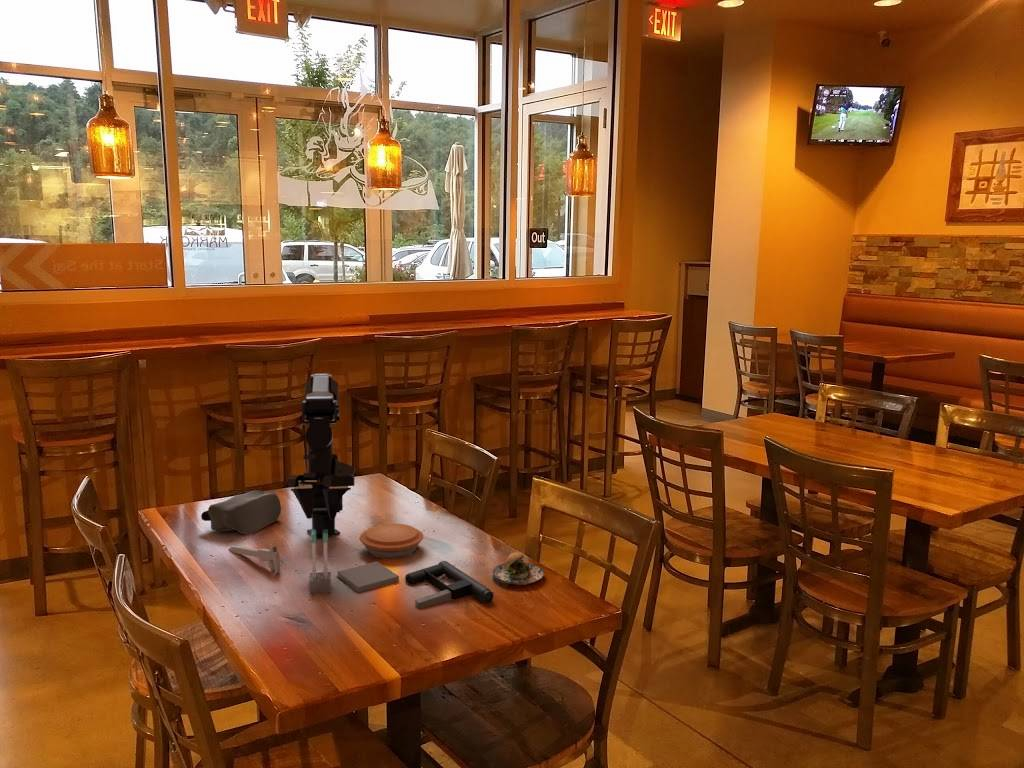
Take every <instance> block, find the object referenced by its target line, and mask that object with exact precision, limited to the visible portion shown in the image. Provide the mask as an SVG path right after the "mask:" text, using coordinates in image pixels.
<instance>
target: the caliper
mask: <svg viewBox="0 0 1024 768" xmlns="http://www.w3.org/2000/svg"><path fill="white" fill-rule="evenodd" d="M228 551H231V553H233V554H239V555H244V556H250V557H255V558H258V559H259V561H260V562H267V564H268V567H269V570H270V572H271V573H275V574H279V573H280V574H281V558H280V553H279V551H278V550H277V546H276V545H275V546H274V545H270V546H269V547H268V548H259V549H257V548H252V547H246V546H240V545H231V546H230V547H229V548H228Z"/></svg>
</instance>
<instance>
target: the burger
mask: <svg viewBox="0 0 1024 768" xmlns="http://www.w3.org/2000/svg"><path fill="white" fill-rule="evenodd" d="M510 547H511V551H512V552H511V553H509V555H508V556H507V558H506V561H505V563H501V564H499V565H497V566H496V567H494V568H493V571H492V574H493V575H492V577H491V579H492V581H493V582H494V583H495V584H497V585H498V586H500V587H502V588H505V589H507V588H508V586H509V585H514V586H515V585H517V586H523V585H525V586H526V585H530V584H533V583H536V582H538V581H539V580H541V579H542V578H543V576H545V572H546V571H545V570H544V569H543V568H541V567H540V566H538V565H536V564H533V563H528V562H525V561H524V560H523V559H524V558H525V555H524V554H523V553H521V552H520V551H519V552H517V551H515V552H514V551H513V546H512V545H510Z"/></svg>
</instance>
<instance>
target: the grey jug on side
mask: <svg viewBox="0 0 1024 768" xmlns="http://www.w3.org/2000/svg"><path fill="white" fill-rule="evenodd" d="M281 512H282V505H281V500H280V499H279V496H278V494H277V493H276V492H275V491H274V490H268V491H262V490H256V489H255V490H251V491H248V492H245V493H243V494H242V493H241V494H236V495H234V496H232V497H231V498H229V499H227V500H225V501H220V502H217V503H214V504H210V505H209V507H208V510H205V511H203V512H202V513H201V515H200V517H201V520H202V521H205V522H209V521H210V528H211V529H210V530H212V531H214V532H224V531H230V530H234V531H237V532H238V533H242V534H245V535H250V534H253V533H255V532H258V531H260V530H261V529H264V528H265V527H266V526H268V525H272V524H273V523H275V522H277V520H278V519H279V517H280V515H281Z"/></svg>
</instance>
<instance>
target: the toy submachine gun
mask: <svg viewBox="0 0 1024 768" xmlns="http://www.w3.org/2000/svg"><path fill="white" fill-rule="evenodd" d="M445 578H447V579H448V580H449V581H451V582H452V583H449V584H446V583H444V582H443V581H441V580H442V579H445ZM404 579H405V582H406V583H407V584H408V585H411V586H415V585H418V584H421V583H424V582H427V583H428V584H430V585H431V586H433V587H434V588H435V589H437V590H438V592H434V593H432V594H429V595H426V596H423V597H421V598H418V599H415V600H414V603H415V607H417V608H418V609H422V608H425V607H429V606H432V605H437V604H440V603H443V602H448V601H450V600H452V601H456V600H460V599H462V598H466V597H469V596H473V597H474V598H476V599H477V600H479V601H480V602H483V603H486V604H488V603H491V602H492V601H493V600H494V597H495V595H494V593H495V591H492V590H491V589H490V588H488V587H487V586H485V585H484V584H482V583H480V582H479V581H477V580H476V579H475V578H473V577H472V576H470V575H468V574H467V573H466V572H464V571H462V570H461V569H459V568H457V567H456V565H455V564H451V563H450V562H448V561H447V560H441V561H440V562H439V563H438V564H435V565H432V566H428V567H424V568H421V569H419V570H415V571H412V572H409V573H407V574H406V575H405V576H404Z"/></svg>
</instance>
